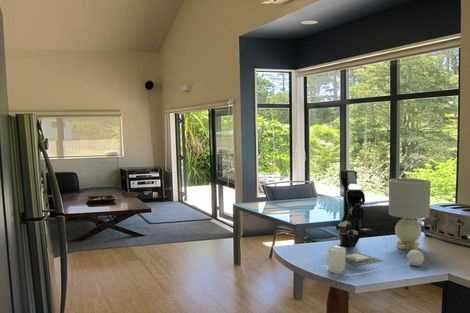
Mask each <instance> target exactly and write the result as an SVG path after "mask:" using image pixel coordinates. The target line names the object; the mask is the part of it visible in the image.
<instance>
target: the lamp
mask: <svg viewBox="0 0 470 313" xmlns="http://www.w3.org/2000/svg"><path fill="white" fill-rule="evenodd" d="M388 183H389V185H388V186H389V187H388V190H389V192H388V194H389V195H388V215H390V216H392V217H395V218H396V217H397V218H402V219H400V220H398V222H396V225H395V227H394V231H395V235H396V237H397V238H398V239H399V240H397V241H396V247H397V249H401V250H406V251H411V250H419V248H420V243H419V242H418V240H419V239H420V237H421V236H422V227H421V225H420V223H419V222H418V221H417V220H416V219H418V220H419V219H421V220H422V219H427V218H429V217H430V207H431V185H432V184H431V181H430V180H428V179H423V178H422V179H419V178H409V177H408V178H402V177H401V178H400V177H399V178H397V177H396V178H390V179H389V182H388Z"/></svg>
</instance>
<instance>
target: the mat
mask: <svg viewBox="0 0 470 313" xmlns="http://www.w3.org/2000/svg"><path fill="white" fill-rule="evenodd" d="M352 254H353V253H351V254H350V255H352ZM355 254H360V255H363V256H366V257H370V260H365V261H360V262H356V261H353V260H350V259H347V258H345V264H347V265H350V266H353V267H361V266H366V265H371V264H377V263H382V262H384V260H382V259H380V258H376V257H373V256H370V255H367V254H363V253H361V252H357V253H355Z"/></svg>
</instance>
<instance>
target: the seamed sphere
mask: <svg viewBox="0 0 470 313" xmlns="http://www.w3.org/2000/svg"><path fill="white" fill-rule="evenodd" d="M406 258H407V259H406V260H407V261H408V263H409V264H410V265H411V266H414V267H419V266H421V265H422V264H423V263H424V262H425V256H424V254H423V252H422V251H420V250H419V249H417V250H409V251H408V253H407V255H406Z"/></svg>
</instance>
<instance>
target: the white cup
mask: <svg viewBox="0 0 470 313" xmlns="http://www.w3.org/2000/svg"><path fill="white" fill-rule="evenodd" d="M346 255H347V248H345V247H342V246H339V245H337V246H336V245H332V246H328V247H327V264H328V272H329V273H334V274H342V273H344V272H345V266H346V263H345V258H346Z"/></svg>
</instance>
